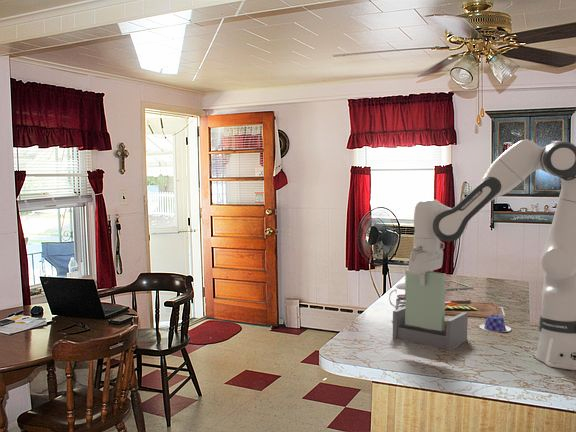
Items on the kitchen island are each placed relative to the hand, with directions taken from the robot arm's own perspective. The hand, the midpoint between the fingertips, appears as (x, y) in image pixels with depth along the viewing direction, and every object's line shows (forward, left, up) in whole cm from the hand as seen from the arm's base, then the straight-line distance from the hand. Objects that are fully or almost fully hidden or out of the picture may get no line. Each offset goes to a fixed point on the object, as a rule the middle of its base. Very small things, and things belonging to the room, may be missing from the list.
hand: (425, 284), depth 195 cm
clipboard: (+39, -104, -23) cm, 114 cm away
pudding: (-12, -38, -23) cm, 46 cm away
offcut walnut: (-4, -4, -21) cm, 22 cm away
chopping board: (+15, -59, -23) cm, 65 cm away
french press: (+24, -29, -23) cm, 44 cm away
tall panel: (0, 0, -16) cm, 16 cm away
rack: (0, -4, -22) cm, 23 cm away
